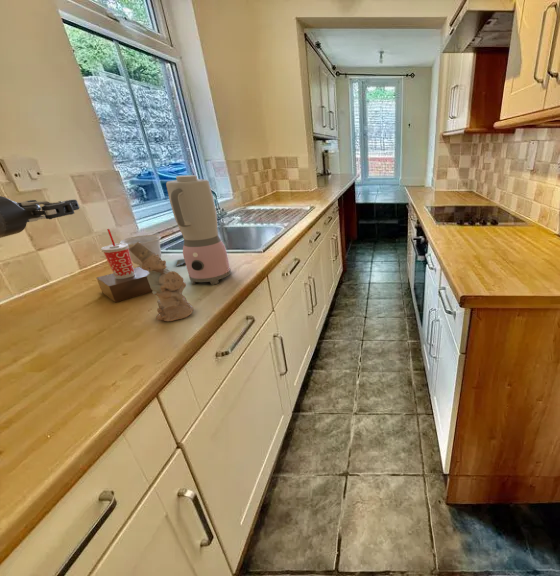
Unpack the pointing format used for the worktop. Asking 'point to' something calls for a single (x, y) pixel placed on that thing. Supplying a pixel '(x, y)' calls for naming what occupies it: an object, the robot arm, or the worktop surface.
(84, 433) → the worktop surface
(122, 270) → the beverage cup
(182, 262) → the build plate
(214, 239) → the blender
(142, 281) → the walnut block
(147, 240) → the teacup
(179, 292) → the figurine
